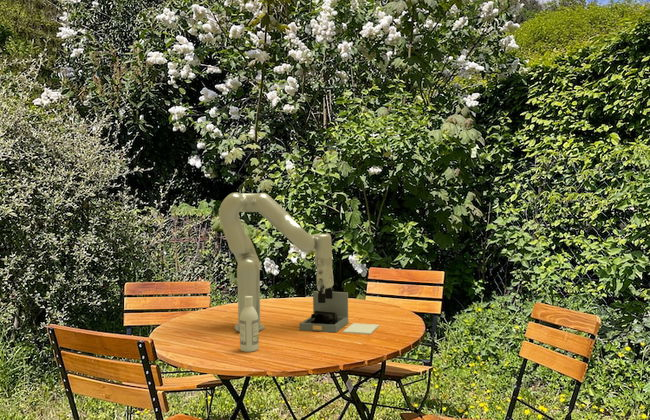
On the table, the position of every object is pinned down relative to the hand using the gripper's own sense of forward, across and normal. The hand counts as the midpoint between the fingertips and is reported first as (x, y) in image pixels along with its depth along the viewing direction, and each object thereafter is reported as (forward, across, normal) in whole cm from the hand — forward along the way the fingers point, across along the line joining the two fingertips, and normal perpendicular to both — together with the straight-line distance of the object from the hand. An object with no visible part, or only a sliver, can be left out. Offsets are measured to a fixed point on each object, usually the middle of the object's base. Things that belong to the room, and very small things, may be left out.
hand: (325, 300), depth 240 cm
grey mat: (+12, 0, -16) cm, 20 cm away
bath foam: (+11, -43, +16) cm, 47 cm away
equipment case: (+12, 0, +1) cm, 12 cm away
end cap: (+12, 0, +1) cm, 12 cm away
